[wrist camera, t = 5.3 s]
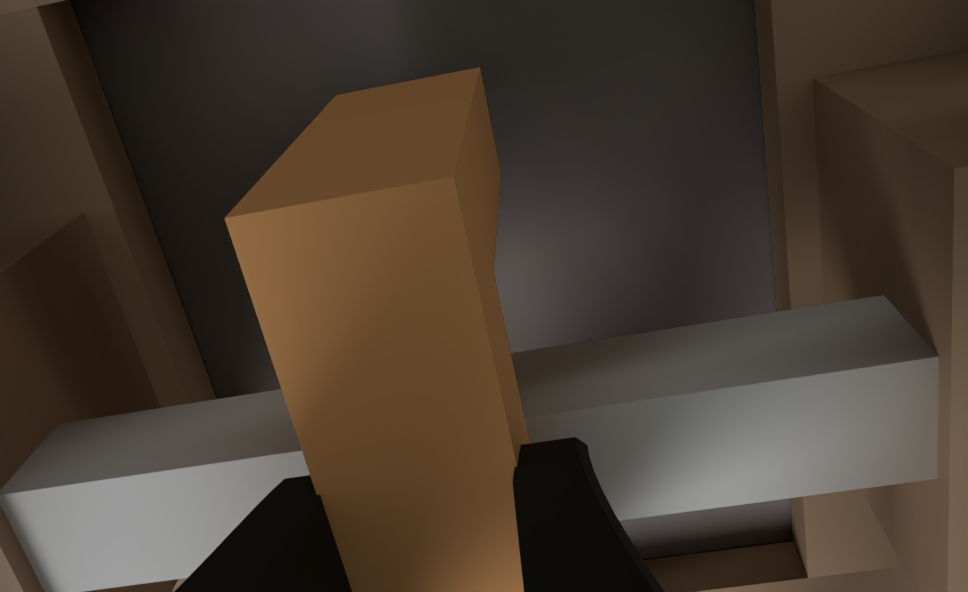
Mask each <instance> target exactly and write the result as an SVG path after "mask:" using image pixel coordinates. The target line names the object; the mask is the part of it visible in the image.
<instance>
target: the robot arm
mask: <svg viewBox="0 0 968 592" xmlns="http://www.w3.org/2000/svg"><path fill="white" fill-rule="evenodd" d="M513 492H514V502H515V512H516V521H517V531H518V540H519V549H520V559H521V568H522V578H523V587H524V592H665V591H664V590H663V588H662V587H661V586H660V584H659V583H658V581H657V580H656V578H655V577H654V576H653V574H652V573H651V571H650V570H649V568H648V567H647V565H646V564H645V562H644V560H643V559H642V557H641V556H640V554H639V553H638V551H637V549H636V548H635V546H634V545H633V543H632V542H631V540H630V538H629V537H628V535H627V534H626V532H625V531H624V529H623V527H622V525H621V524H620V522H619V520H618V518H617V517H616V515H615V513H614V511H613V510H612V508H611V506H610V504H609V502H608V500H607V498H606V496H605V494H604V492H603V490H602V488H601V486H600V483H599V481H598V479H597V477H596V474H595V472H594V469H593V466H592V463H591V460H590V457H589V451H588V446H587V444H585V443H584V442H582V441H581V440H579V439H578V438H576V437H571V438H564V439H557V440H551V441H544V442H537V443H530V444H523V445H521V447H520V452H519V457H518V463H517V467H514V474H513ZM175 592H352V590H351V587H350V584H349V581H348V578H347V575H346V571H345V568H344V565H343V562H342V559H341V556H340V553H339V550H338V547H337V544H336V541H335V538H334V535H333V532H332V529H331V526H330V523H329V520H328V517H327V514H326V511H325V508H324V505H323V502H322V499H321V496H320V495H317V494H316V491H315V488H314V485H313V482H312V479H311V476H310V475H307V476H300V477H293V478H286V479H284V480H283V481H282V482H280V483H279V484H278V485H277V486H276V487H275V488H274V489H273V490H272V491H271V492H270V493H269V494H268V495H267V496H266V497H265V498H264V499H263V500H262V501H261V502H260V503H259V504H258V505H257V506H256V507H255V508H254V509H253V510H252V511H251V512H250V513H249V514H248V515H247V516H246V517H245V518H244V519H243V520H242V522H241V523H240V524H239V525H238V526H237V527H236V528H235V529H234V530H233V531H232V532H231V533H230V534H229V535H228V536H227V537H226V538H225V539H224V541H223V542H222V543H221V544H220V545H219V546H218V547H217V548H216V549H215V550H214V551H213V552H212V553H211V554H210V555H209V556H208V557H207V558H206V559H205V560H204V561H203V563H202V564H201V565H200V566H199V567H198V568H197V569H196V570H195V571H194V572H193V573H192V574H191V575H190V576H189V577H188V578H187V579H186V580H185V581H184V582H183V583H182V584H181V585H180V586H179V587H178V588H177V589H176V590H175Z"/></svg>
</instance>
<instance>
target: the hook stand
mask: <svg viewBox="0 0 968 592" xmlns="http://www.w3.org/2000/svg"><path fill="white" fill-rule="evenodd" d="M754 4H755V18H756V32H757V46H758V60H759V74H760V88H761V102H762V116H763V130H764V144H765V158H766V172H767V186H768V200H769V214H770V228H771V242H772V256H773V269H774V283H775V297H776V311H777V312H773V313H766V314H760V315H754V316H747V317H741V318H734V319H728V320H722V321H715V322H709V323H702V324H696V325H689V326H683V327H677V328H670V329H664V330H657V331H651V332H645V333H638V334H632V335H625V336H619V337H613V338H606V339H600V340H593V341H587V342H581V343H574V344H568V345H561V346H555V347H548V348H542V349H536V350H529V351H523V352H516V353H511V357H512V362H513V366H514V371H515V376H516V381H517V385H518V390H519V395H520V400H521V405H522V409H523V414H524V419H525V424H526V428H527V433H528V438H529V443H537V442H544V441H551V440H557V439H564V438H571V437H576V438H578V439H579V440H581V441H582V442H584V443H585V444H587V446H588V451H589V457H590V460H591V463H592V466H593V469H594V472H595V474H596V477H597V479H598V481H599V483H600V486H601V488H602V490H603V492H604V494H605V496H606V498H607V500H608V502H609V504H610V506H611V508H612V510H613V511H614V513H615V515H616V517H617V518H618V520H619V521H621V520H629V519H637V518H644V517H652V516H659V515H667V514H674V513H682V512H689V511H697V510H705V509H712V508H720V507H727V506H735V505H742V504H750V503H758V502H765V501H773V500H780V499H788V498H790V507H791V521H792V535H793V541H792V542H784V543H776V544H768V545H760V546H752V547H745V548H737V549H729V550H721V551H713V552H705V553H697V554H689V555H681V556H674V557H666V558H658V559H650V560H644V562H645V564H646V565H647V567H648V568H649V570H650V571H651V573H652V574H653V576H654V577H655V578H656V580H657V581H658V583H659V584H660V586H661V587H662V588H663V590H664V591H665V592H968V0H754ZM307 475H310V473H309V470H308V467H307V464H306V461H305V458H304V455H303V452H302V449H301V446H300V443H299V440H298V437H297V434H296V431H295V428H294V425H293V422H292V419H291V416H290V413H289V410H288V407H287V404H286V401H285V398H284V395H283V392H282V389H279V390H273V391H266V392H260V393H254V394H247V395H241V396H234V397H228V398H222V399H217V398H216V396H215V393H214V390H213V388H212V385H211V382H210V379H209V377H208V374H207V371H206V369H205V366H204V363H203V360H202V358H201V355H200V352H199V350H198V347H197V344H196V341H195V339H194V336H193V333H192V330H191V328H190V325H189V322H188V320H187V317H186V314H185V311H184V309H183V306H182V303H181V301H180V298H179V295H178V292H177V290H176V287H175V284H174V282H173V279H172V276H171V273H170V271H169V268H168V265H167V263H166V260H165V257H164V254H163V252H162V249H161V246H160V243H159V241H158V238H157V235H156V233H155V230H154V227H153V224H152V222H151V219H150V216H149V214H148V211H147V208H146V205H145V203H144V200H143V197H142V195H141V192H140V189H139V186H138V184H137V181H136V178H135V176H134V173H133V170H132V167H131V165H130V162H129V159H128V157H127V154H126V151H125V148H124V146H123V143H122V140H121V137H120V135H119V132H118V129H117V127H116V124H115V121H114V118H113V116H112V113H111V110H110V108H109V105H108V102H107V99H106V97H105V94H104V91H103V89H102V86H101V83H100V80H99V78H98V75H97V72H96V70H95V67H94V64H93V61H92V59H91V56H90V53H89V50H88V48H87V45H86V42H85V40H84V37H83V34H82V31H81V29H80V26H79V23H78V21H77V18H76V15H75V12H74V10H73V7H72V4H71V2H70V0H0V592H175V590H176V589H177V588H178V587H179V586H180V585H181V584H182V583H183V582H184V581H185V580H186V579H187V578H188V577H189V576H190V575H191V574H192V573H193V572H194V571H195V570H196V569H197V568H198V567H199V566H200V565H201V564H202V563H203V561H204V560H205V559H206V558H207V557H208V556H209V555H210V554H211V553H212V552H213V551H214V550H215V549H216V548H217V547H218V546H219V545H220V544H221V543H222V542H223V541H224V539H225V538H226V537H227V536H228V535H229V534H230V533H231V532H232V531H233V530H234V529H235V528H236V527H237V526H238V525H239V524H240V523H241V522H242V520H243V519H244V518H245V517H246V516H247V515H248V514H249V513H250V512H251V511H252V510H253V509H254V508H255V507H256V506H257V505H258V504H259V503H260V502H261V501H262V500H263V499H264V498H265V497H266V496H267V495H268V494H269V493H270V492H271V491H272V490H273V489H274V488H275V487H276V486H277V485H278V484H279V483H280V482H282V481H283V480H284V479H286V478H293V477H300V476H307Z"/></svg>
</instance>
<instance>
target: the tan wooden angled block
mask: <svg viewBox="0 0 968 592" xmlns="http://www.w3.org/2000/svg"><path fill="white" fill-rule="evenodd" d="M500 180H501V172H500V167H499V161H498V156H497V151H496V146H495V141H494V136H493V131H492V126H491V121H490V116H489V111H488V105H487V100H486V95H485V90H484V85H483V80H482V75H481V70H480V67H478V68H473V69H468V70H462V71H457V72H452V73H447V74H442V75H437V76H432V77H426V78H421V79H416V80H411V81H406V82H401V83H396V84H390V85H385V86H380V87H375V88H370V89H365V90H360V91H354V92H349V93H344V94H339V95H336V96H335V97H334V98H333V99H332V100H331V101H330V102H329V103H328V104H327V106H326V107H325V108H324V109H323V110H322V111H321V112H320V113H319V114H318V115H317V117H316V118H315V119H314V120H313V121H312V122H311V123H310V124H309V125H308V126H307V128H306V129H305V130H304V131H303V132H302V133H301V134H300V135H299V136H298V138H297V139H296V140H295V141H294V142H293V143H292V144H291V145H290V146H289V147H288V149H287V150H286V151H285V152H284V153H283V154H282V155H281V156H280V157H279V158H278V160H277V161H276V162H275V163H274V164H273V165H272V166H271V167H270V168H269V169H268V171H267V172H266V173H265V174H264V175H263V176H262V177H261V178H260V179H259V181H258V182H257V183H256V184H255V185H254V186H253V187H252V188H251V189H250V190H249V192H248V193H247V194H246V195H245V196H244V197H243V198H242V199H241V200H240V201H239V203H238V204H237V205H236V206H235V207H234V208H233V209H232V210H231V211H230V212H229V214H228V215H227V216H226V217H225V221H226V224H227V227H228V230H229V233H230V236H231V239H232V242H233V245H234V248H235V251H236V254H237V257H238V260H239V263H240V266H241V269H242V272H243V275H244V278H245V281H246V284H247V287H248V290H249V293H250V296H251V299H252V302H253V305H254V308H255V311H256V314H257V317H258V320H259V323H260V326H261V329H262V332H263V335H264V338H265V341H266V344H267V347H268V350H269V353H270V356H271V359H272V362H273V365H274V368H275V371H276V374H277V377H278V380H279V383H280V386H281V389H282V392H283V395H284V398H285V401H286V404H287V407H288V410H289V413H290V416H291V419H292V422H293V425H294V428H295V431H296V434H297V437H298V440H299V443H300V446H301V449H302V452H303V455H304V458H305V461H306V464H307V467H308V470H309V473H310V476H311V479H312V482H313V485H314V488H315V491H316V494H317V495H320V496H321V499H322V502H323V505H324V508H325V511H326V514H327V517H328V520H329V523H330V526H331V529H332V532H333V535H334V538H335V541H336V544H337V547H338V550H339V553H340V556H341V559H342V562H343V565H344V568H345V571H346V575H347V578H348V581H349V584H350V587H351V590H352V592H524V587H523V578H522V568H521V559H520V549H519V540H518V531H517V521H516V512H515V502H514V492H513V474H514V467H517V463H518V457H519V452H520V447H521V445H523V444H530V443H529V438H528V433H527V428H526V424H525V419H524V414H523V409H522V405H521V400H520V395H519V390H518V385H517V381H516V376H515V371H514V366H513V362H512V357H511V352H510V347H509V343H508V338H507V333H506V328H505V323H504V319H503V314H502V309H501V304H500V300H499V295H498V290H497V285H496V280H495V276H494V258H495V245H496V232H497V219H498V206H499V193H500Z"/></svg>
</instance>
